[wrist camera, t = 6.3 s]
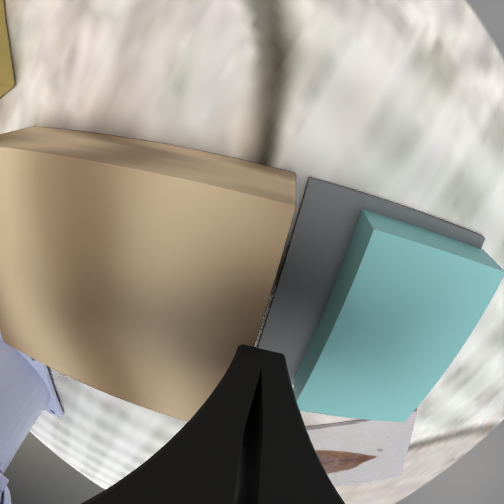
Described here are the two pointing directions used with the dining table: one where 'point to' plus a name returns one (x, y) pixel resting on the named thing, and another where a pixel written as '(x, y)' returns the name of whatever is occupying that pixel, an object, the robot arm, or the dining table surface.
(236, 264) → the block
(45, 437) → the dining table surface
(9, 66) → the cheese
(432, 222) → the mat
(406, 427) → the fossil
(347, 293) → the turquoise rectangular block
